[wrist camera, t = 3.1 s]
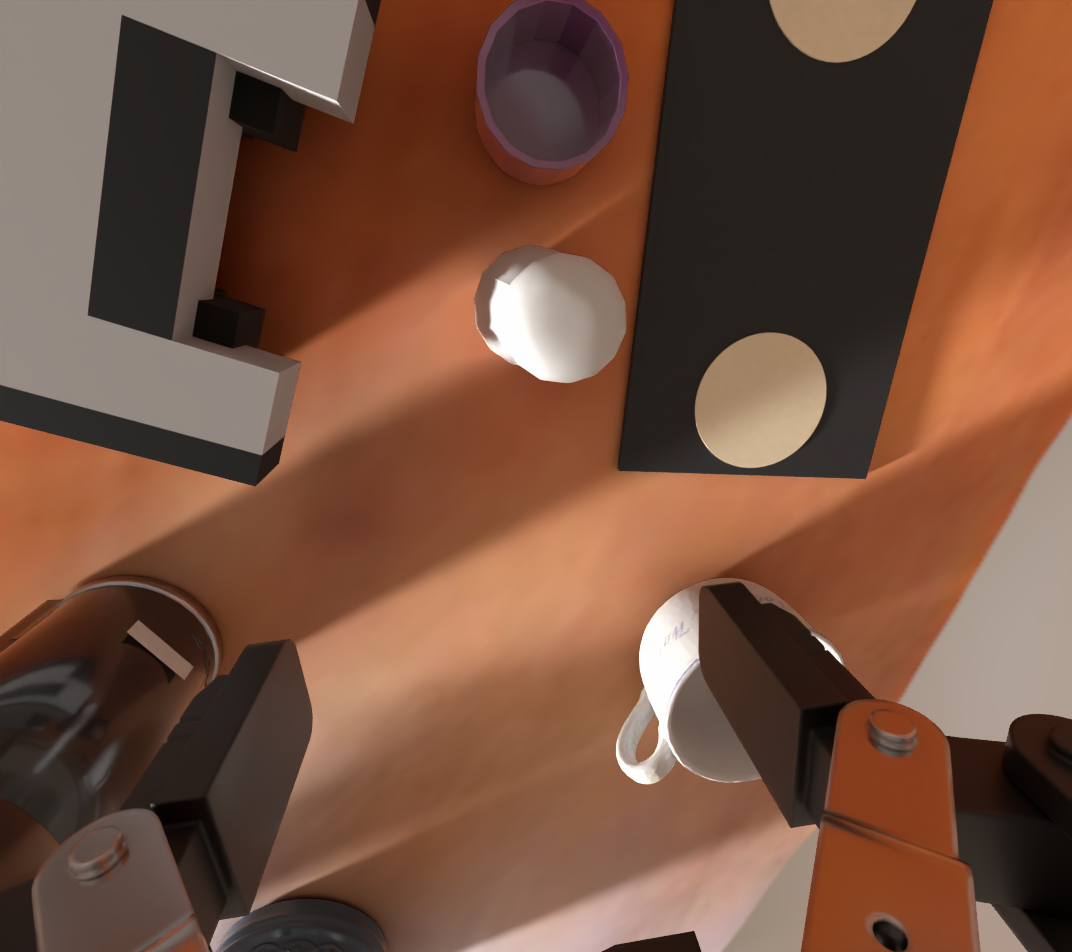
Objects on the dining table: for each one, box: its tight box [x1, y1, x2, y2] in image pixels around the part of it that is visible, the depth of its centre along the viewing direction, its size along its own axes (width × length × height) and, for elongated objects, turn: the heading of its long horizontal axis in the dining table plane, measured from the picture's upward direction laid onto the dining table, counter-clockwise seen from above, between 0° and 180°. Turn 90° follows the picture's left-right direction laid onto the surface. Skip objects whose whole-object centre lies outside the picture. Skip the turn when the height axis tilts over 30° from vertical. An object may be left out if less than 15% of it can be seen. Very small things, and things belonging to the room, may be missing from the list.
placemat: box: [618, 0, 993, 479], centre depth 31 cm, size 16×30×1 cm, turn 176°
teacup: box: [616, 578, 846, 784], centre depth 35 cm, size 14×11×8 cm
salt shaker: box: [474, 245, 626, 383], centre depth 25 cm, size 6×6×13 cm
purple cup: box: [475, 0, 629, 185], centre depth 26 cm, size 6×6×4 cm
